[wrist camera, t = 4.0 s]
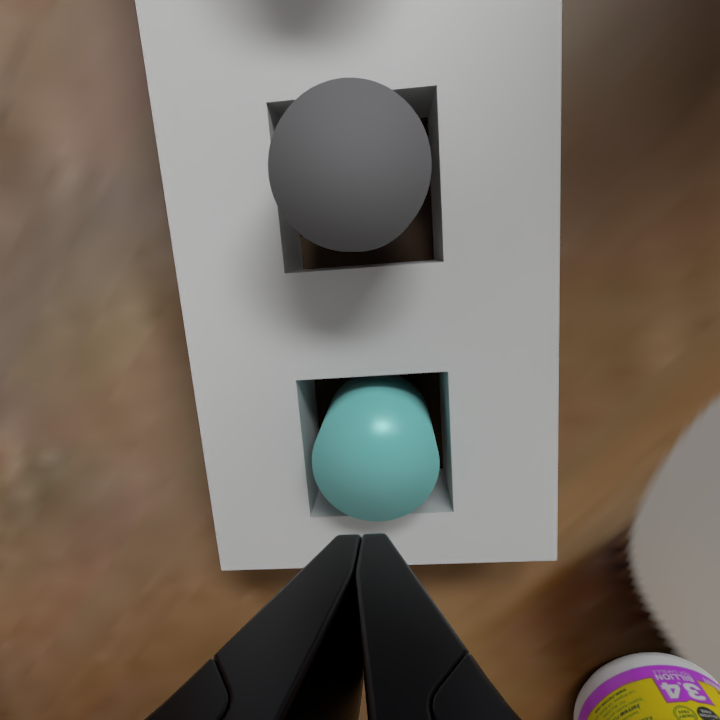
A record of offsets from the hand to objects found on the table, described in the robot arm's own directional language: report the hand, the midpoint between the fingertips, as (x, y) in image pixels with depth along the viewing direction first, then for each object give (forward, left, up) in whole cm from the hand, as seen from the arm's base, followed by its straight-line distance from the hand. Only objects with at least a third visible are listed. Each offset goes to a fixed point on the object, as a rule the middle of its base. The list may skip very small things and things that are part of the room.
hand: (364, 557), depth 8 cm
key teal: (0, +1, -11) cm, 11 cm away
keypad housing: (0, -7, -12) cm, 14 cm away
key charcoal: (0, -7, -9) cm, 12 cm away
